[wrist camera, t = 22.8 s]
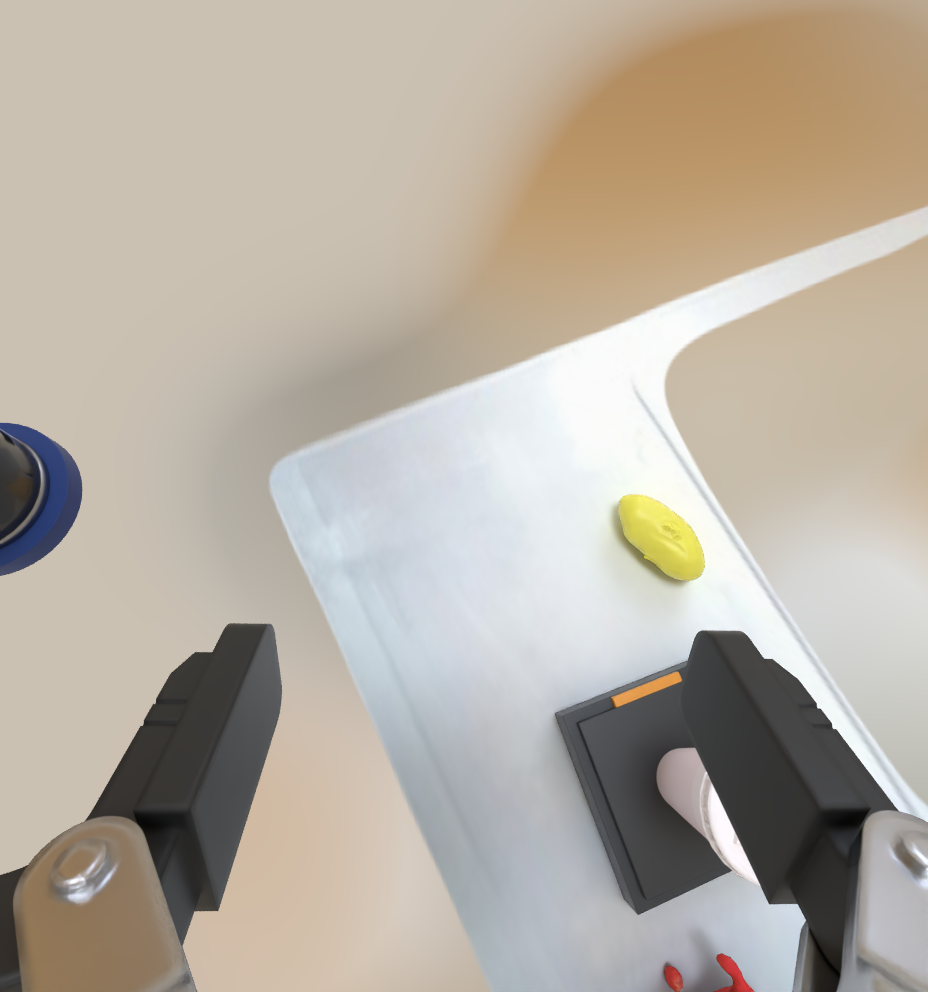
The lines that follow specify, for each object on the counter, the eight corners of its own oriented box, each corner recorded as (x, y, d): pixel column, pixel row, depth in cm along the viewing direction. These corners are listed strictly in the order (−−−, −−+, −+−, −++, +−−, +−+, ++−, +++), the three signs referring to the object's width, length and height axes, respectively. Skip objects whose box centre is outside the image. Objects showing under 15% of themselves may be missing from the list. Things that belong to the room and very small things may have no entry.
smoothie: (616, 758, 36) (727, 805, 23) (695, 706, 37) (844, 723, 24) (673, 858, 35) (828, 971, 21) (753, 800, 36) (947, 873, 23)
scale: (624, 900, 36) (641, 919, 33) (554, 713, 40) (564, 716, 37) (782, 827, 38) (811, 839, 35) (703, 654, 41) (723, 652, 39)
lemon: (667, 598, 43) (690, 591, 39) (598, 517, 44) (613, 502, 40) (705, 565, 44) (731, 555, 40) (636, 487, 45) (655, 470, 41)
